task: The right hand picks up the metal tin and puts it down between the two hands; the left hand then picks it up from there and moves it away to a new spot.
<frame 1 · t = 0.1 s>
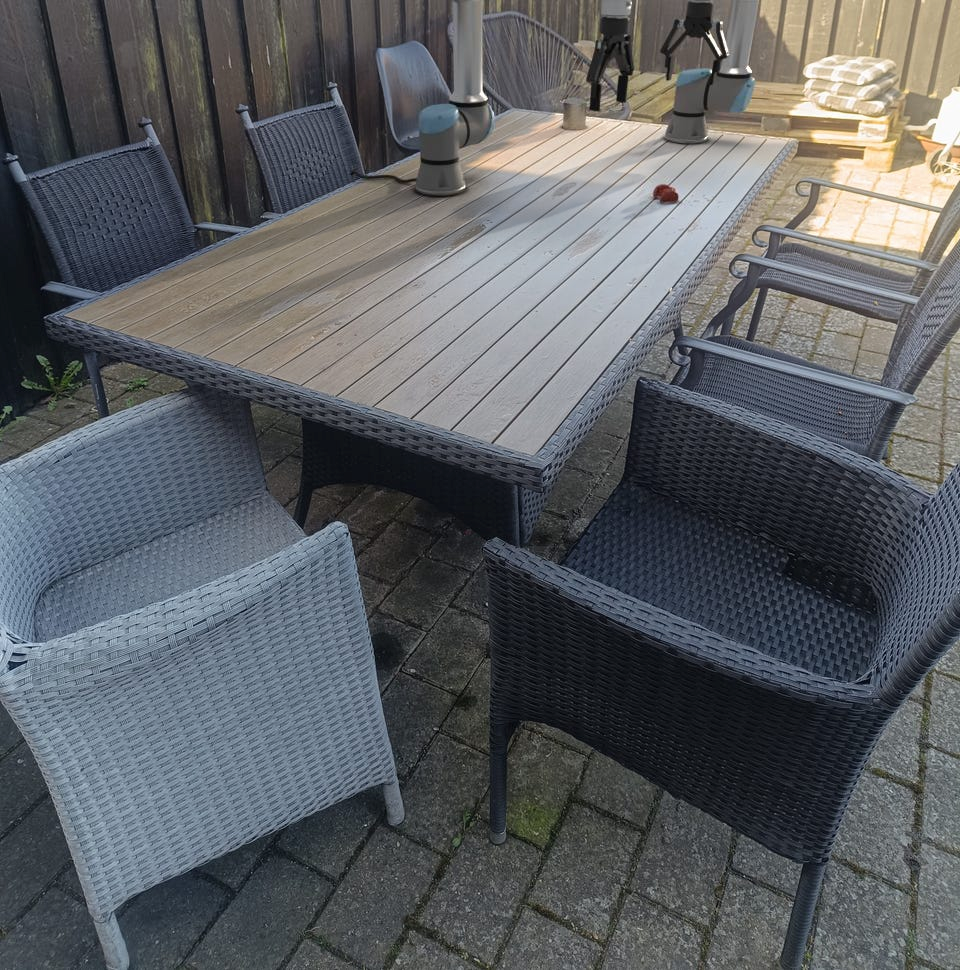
left hand: (608, 106, 226), 28 cm above the table, tool pointing down, fingers open, 13 cm apart
right hand: (690, 82, 253), 28 cm above the table, tool pointing down, fingers open, 13 cm apart
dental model: (665, 199, 250), on the table
tin: (573, 127, 325), on the table
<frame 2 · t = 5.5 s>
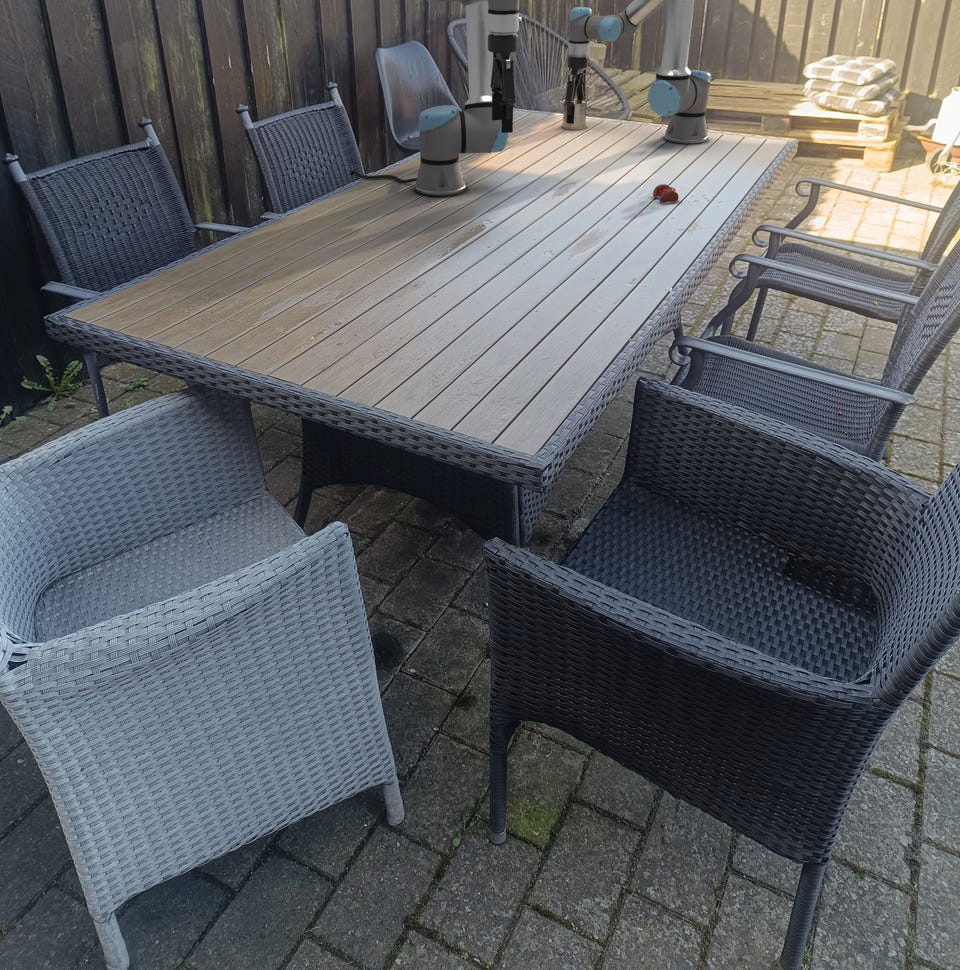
left hand: (502, 126, 216), 26 cm above the table, tool pointing down, fingers open, 13 cm apart
right hand: (574, 120, 323), 2 cm above the table, tool pointing down, fingers closed on tin, 9 cm apart
tin: (574, 127, 324), on the table, touching right hand
everything else where it was.
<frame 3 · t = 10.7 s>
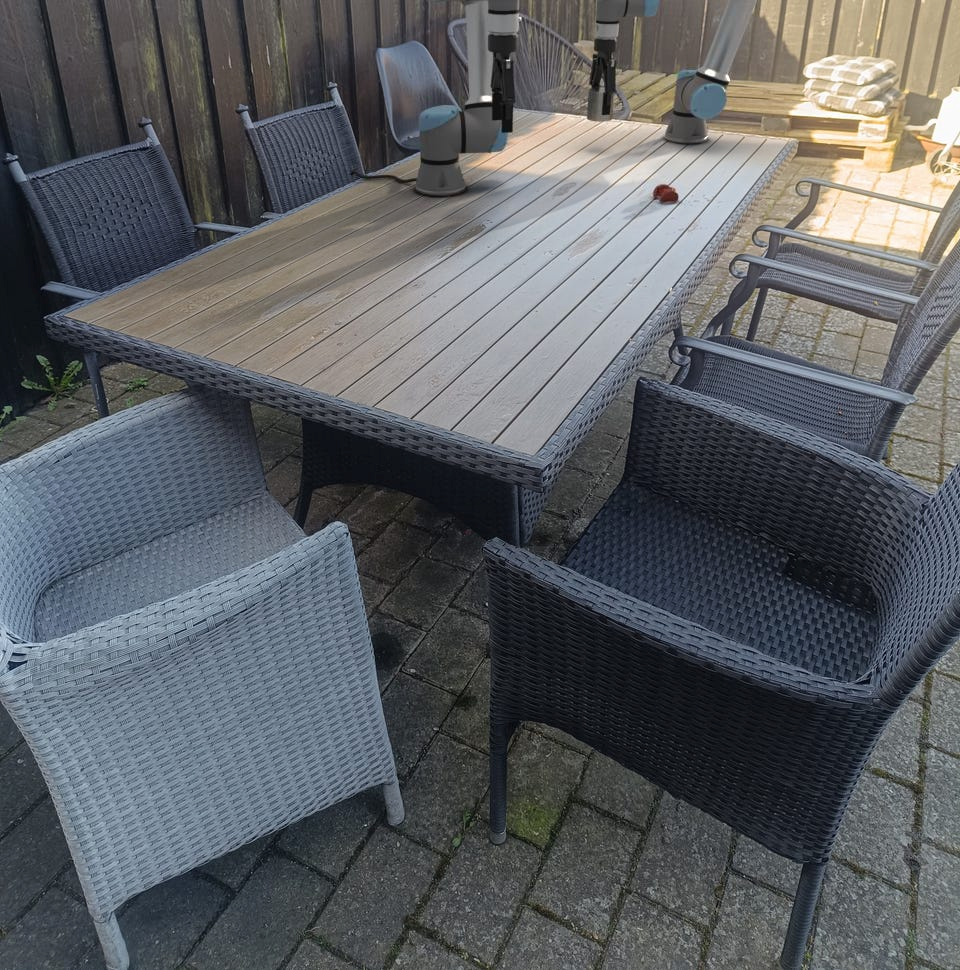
left hand: (502, 126, 216), 26 cm above the table, tool pointing down, fingers open, 13 cm apart
right hand: (600, 111, 288), 13 cm above the table, tool pointing down, fingers closed on tin, 9 cm apart
tin: (599, 118, 289), point 11 cm above the table, touching right hand
everything else where it was.
when the right hand's fingers open (4 cm above the table, at t = 16.0 s): tin drops 2 cm, on the table.
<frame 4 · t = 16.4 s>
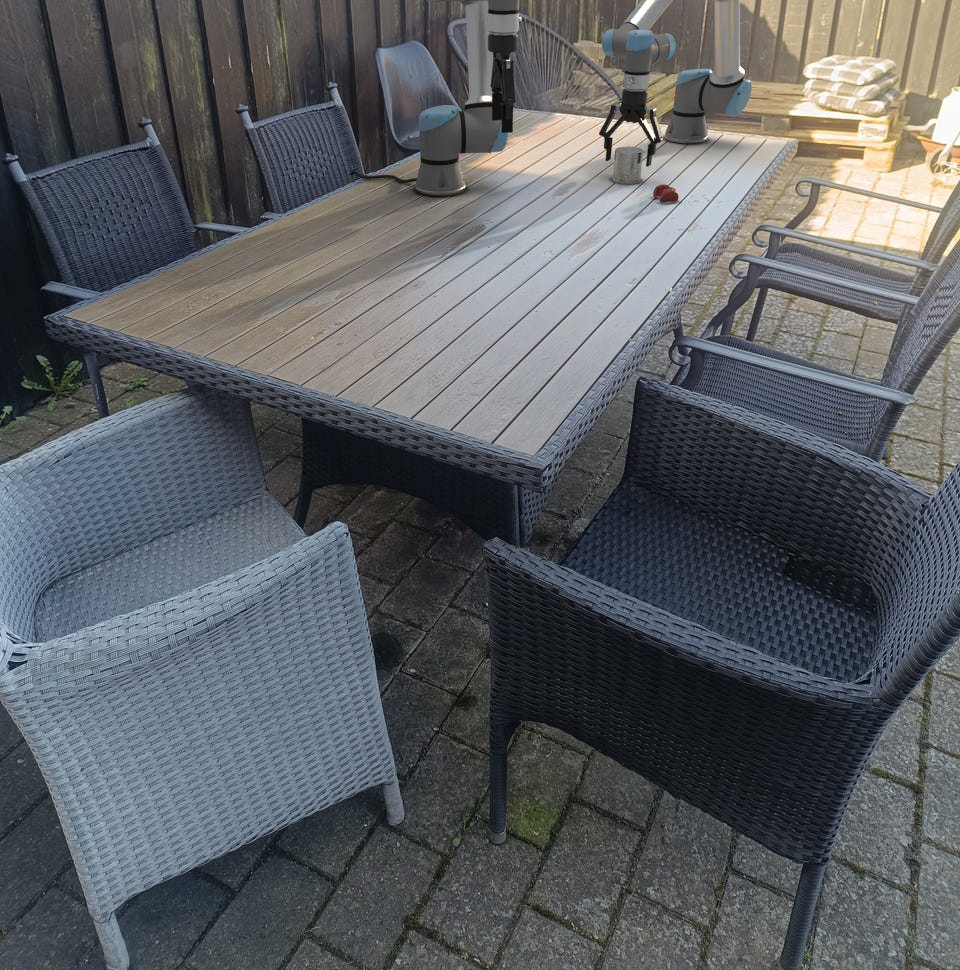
left hand: (502, 126, 216), 26 cm above the table, tool pointing down, fingers open, 13 cm apart
right hand: (628, 162, 264), 5 cm above the table, tool pointing down, fingers open, 13 cm apart
tin: (626, 180, 267), on the table
everything else where it was.
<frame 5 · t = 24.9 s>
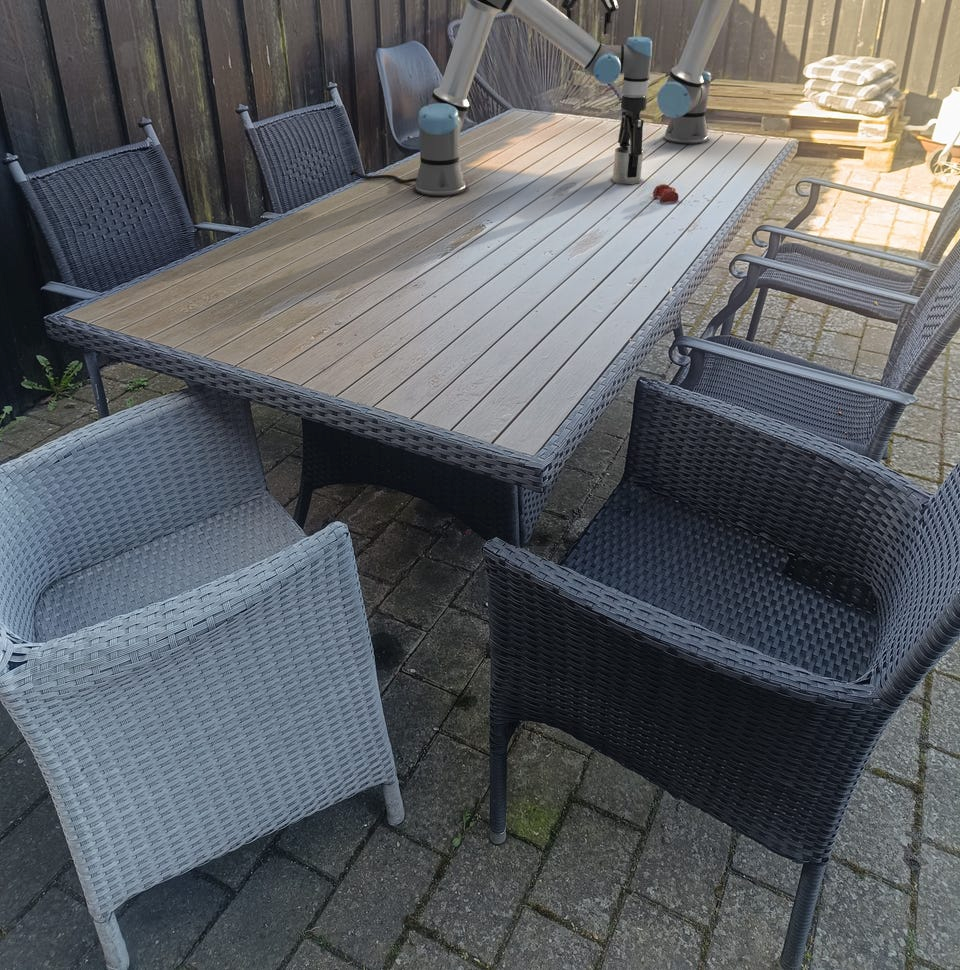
left hand: (627, 172, 265), 2 cm above the table, tool pointing down, fingers closed on tin, 9 cm apart
right hand: (588, 32, 295), 34 cm above the table, tool pointing down, fingers open, 13 cm apart
tin: (626, 180, 267), on the table, touching left hand
everything else where it was.
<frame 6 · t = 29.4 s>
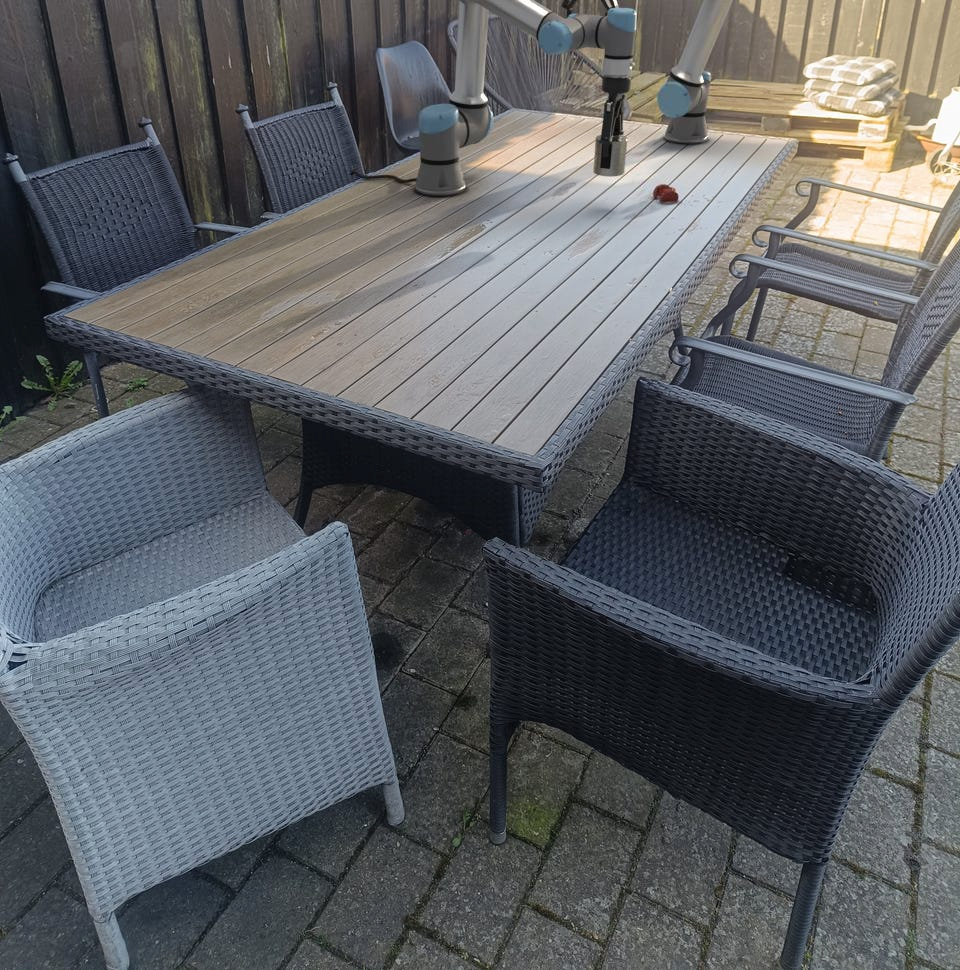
left hand: (609, 163, 236), 13 cm above the table, tool pointing down, fingers closed on tin, 9 cm apart
right hand: (588, 32, 295), 34 cm above the table, tool pointing down, fingers open, 13 cm apart
tin: (608, 172, 237), point 10 cm above the table, touching left hand
everything else where it was.
when the left hand's fingers open (4 cm above the table, at t = 34.4 s): tin drops 2 cm, on the table.
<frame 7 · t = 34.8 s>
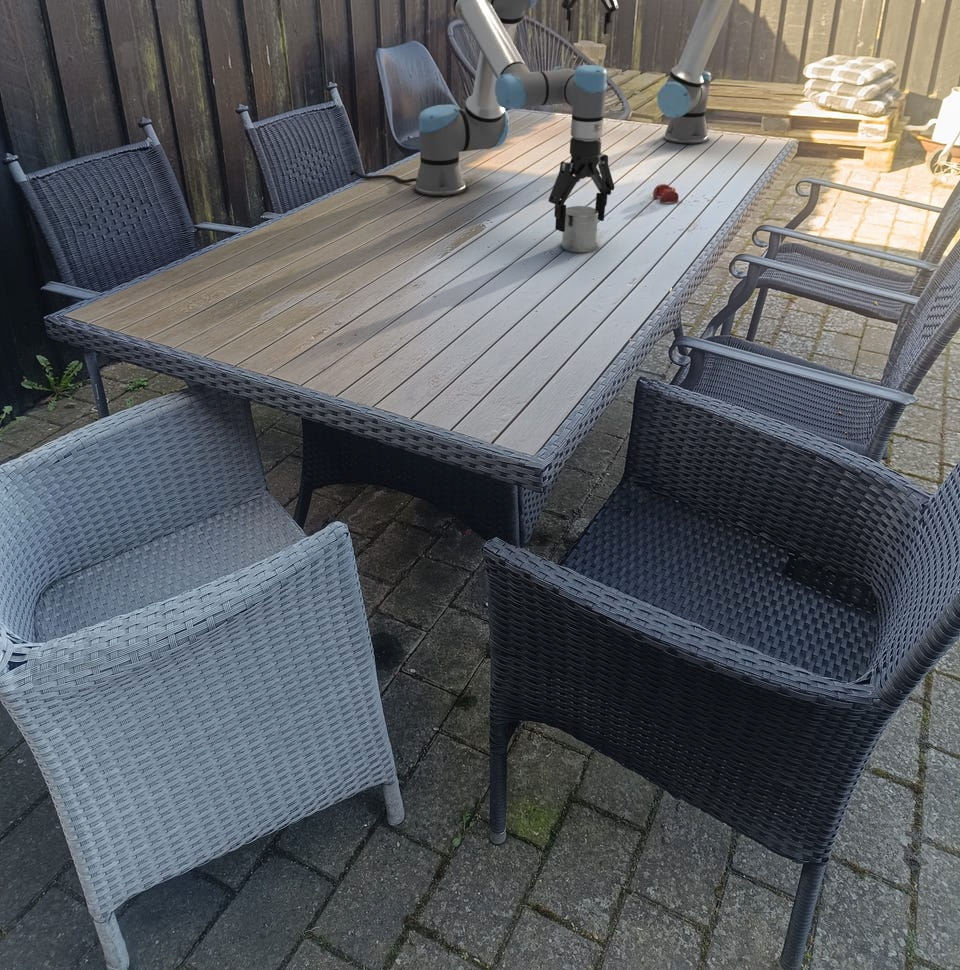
left hand: (579, 224, 215), 6 cm above the table, tool pointing down, fingers open, 13 cm apart
right hand: (588, 32, 295), 34 cm above the table, tool pointing down, fingers open, 13 cm apart
tin: (578, 246, 218), on the table
everything else where it was.
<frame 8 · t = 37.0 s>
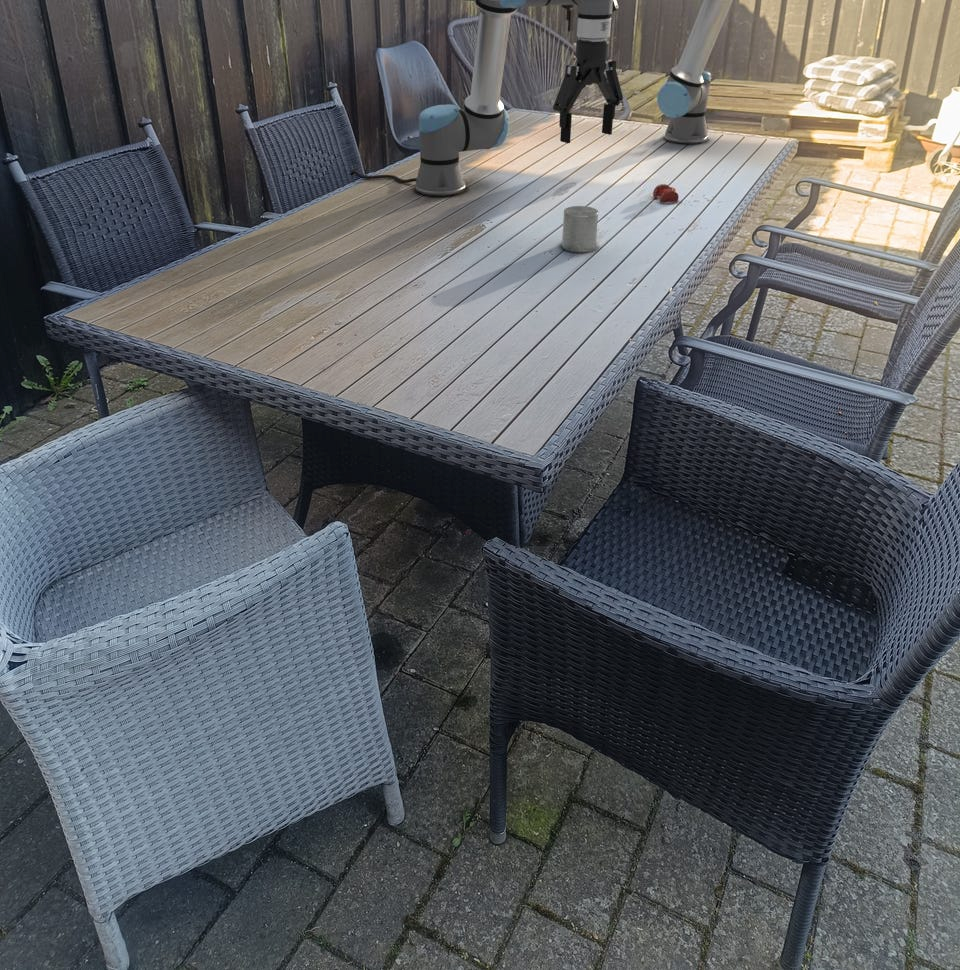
left hand: (586, 137, 203), 27 cm above the table, tool pointing down, fingers open, 13 cm apart
right hand: (588, 32, 295), 34 cm above the table, tool pointing down, fingers open, 13 cm apart
nothing on the table moved.
at the end: tin inside the target area (0.0 cm from its centre), on the table; tin tilted 0°; the two hands never held the tin at the same time; the left hand is holding nothing; the right hand is holding nothing; tin at rest at the end (0.0 cm/s) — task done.
